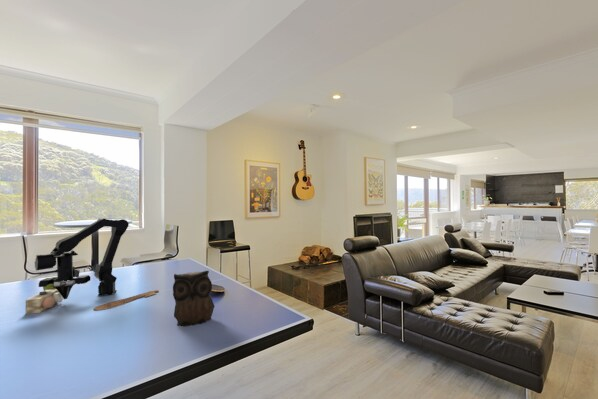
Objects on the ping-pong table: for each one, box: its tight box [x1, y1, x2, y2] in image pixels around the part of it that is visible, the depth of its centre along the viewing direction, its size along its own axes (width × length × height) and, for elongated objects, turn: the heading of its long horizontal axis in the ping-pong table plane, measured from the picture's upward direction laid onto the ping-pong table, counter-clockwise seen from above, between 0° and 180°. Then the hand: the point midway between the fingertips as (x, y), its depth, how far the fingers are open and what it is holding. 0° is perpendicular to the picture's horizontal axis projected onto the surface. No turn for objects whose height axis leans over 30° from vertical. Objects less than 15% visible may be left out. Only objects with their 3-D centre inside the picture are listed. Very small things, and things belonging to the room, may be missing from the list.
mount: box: [25, 289, 59, 315], centre depth 129 cm, size 5×14×7 cm, turn 13°
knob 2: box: [52, 293, 64, 304], centre depth 133 cm, size 7×4×4 cm, turn 103°
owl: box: [172, 270, 215, 328], centre depth 112 cm, size 13×13×20 cm
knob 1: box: [42, 297, 55, 309], centre depth 126 cm, size 7×4×4 cm, turn 103°
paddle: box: [93, 289, 159, 312], centre depth 138 cm, size 8×30×2 cm, turn 149°
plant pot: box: [42, 276, 57, 291], centre depth 145 cm, size 9×9×9 cm
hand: (65, 299), depth 134 cm, fingers closed
